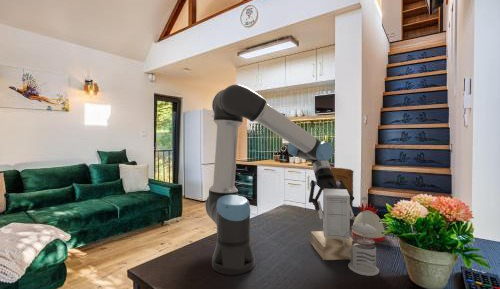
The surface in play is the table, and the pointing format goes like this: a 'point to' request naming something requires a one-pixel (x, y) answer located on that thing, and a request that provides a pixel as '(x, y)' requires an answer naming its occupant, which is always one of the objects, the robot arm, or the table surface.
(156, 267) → the table surface
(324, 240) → the oak riser
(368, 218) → the crested helmet
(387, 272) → the table surface
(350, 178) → the pancake mix bag
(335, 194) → the supplement box
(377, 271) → the french press
